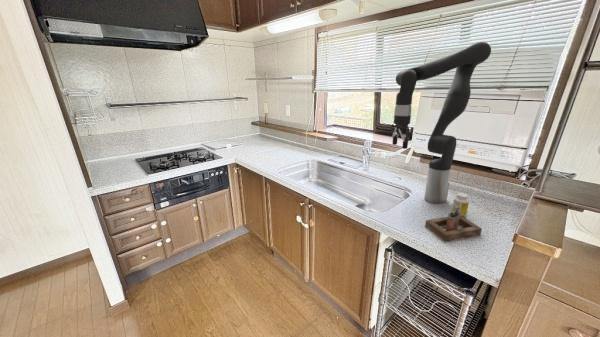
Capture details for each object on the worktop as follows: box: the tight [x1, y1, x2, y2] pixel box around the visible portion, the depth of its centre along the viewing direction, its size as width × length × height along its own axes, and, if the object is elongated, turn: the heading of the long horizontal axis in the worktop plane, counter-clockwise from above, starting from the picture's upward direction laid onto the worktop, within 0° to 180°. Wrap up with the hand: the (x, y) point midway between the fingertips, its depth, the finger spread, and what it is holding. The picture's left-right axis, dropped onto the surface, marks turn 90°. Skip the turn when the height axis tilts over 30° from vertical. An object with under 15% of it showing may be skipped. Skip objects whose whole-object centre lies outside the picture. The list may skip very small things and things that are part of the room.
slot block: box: [424, 216, 483, 243], centre depth 98 cm, size 16×11×3 cm
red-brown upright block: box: [444, 206, 461, 231], centre depth 97 cm, size 8×3×10 cm, turn 129°
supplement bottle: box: [451, 192, 470, 218], centre depth 107 cm, size 6×6×10 cm
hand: (399, 146), depth 123 cm, fingers open, 8 cm apart
